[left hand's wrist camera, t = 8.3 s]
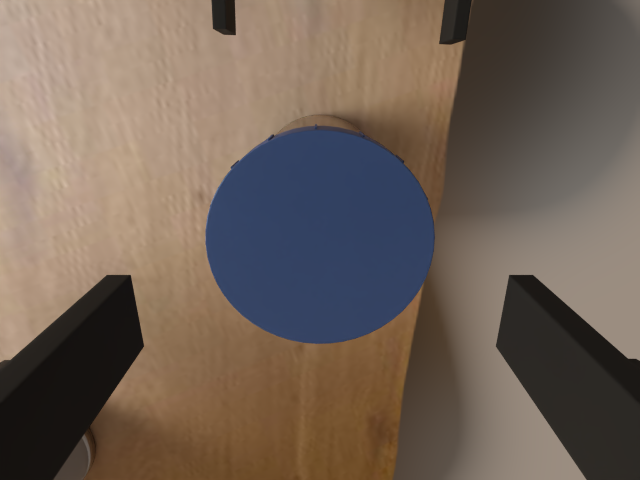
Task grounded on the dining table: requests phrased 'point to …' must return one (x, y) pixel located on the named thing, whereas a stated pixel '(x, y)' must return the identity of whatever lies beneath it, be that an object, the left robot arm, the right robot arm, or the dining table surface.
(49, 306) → the dining table surface
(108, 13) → the dining table surface
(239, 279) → the lid
